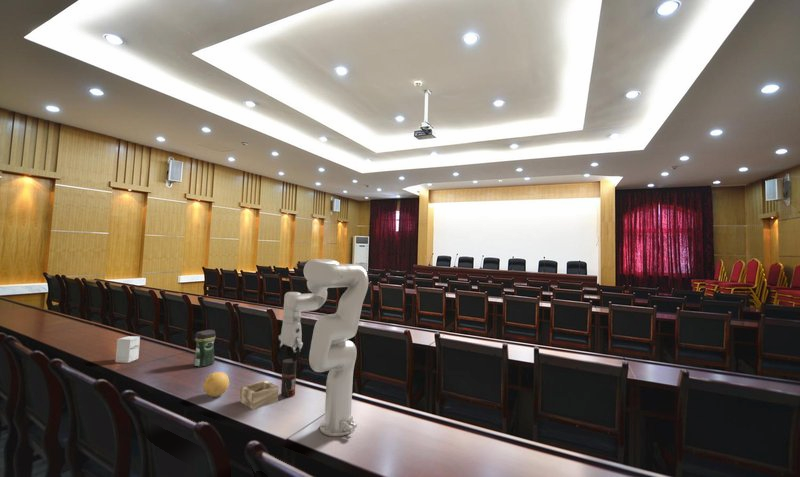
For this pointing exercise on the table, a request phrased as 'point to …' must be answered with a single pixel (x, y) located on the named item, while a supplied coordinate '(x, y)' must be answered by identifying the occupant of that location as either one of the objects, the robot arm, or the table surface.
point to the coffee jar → (204, 348)
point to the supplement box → (127, 349)
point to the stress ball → (216, 384)
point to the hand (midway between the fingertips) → (289, 358)
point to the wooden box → (259, 394)
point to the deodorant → (288, 378)
